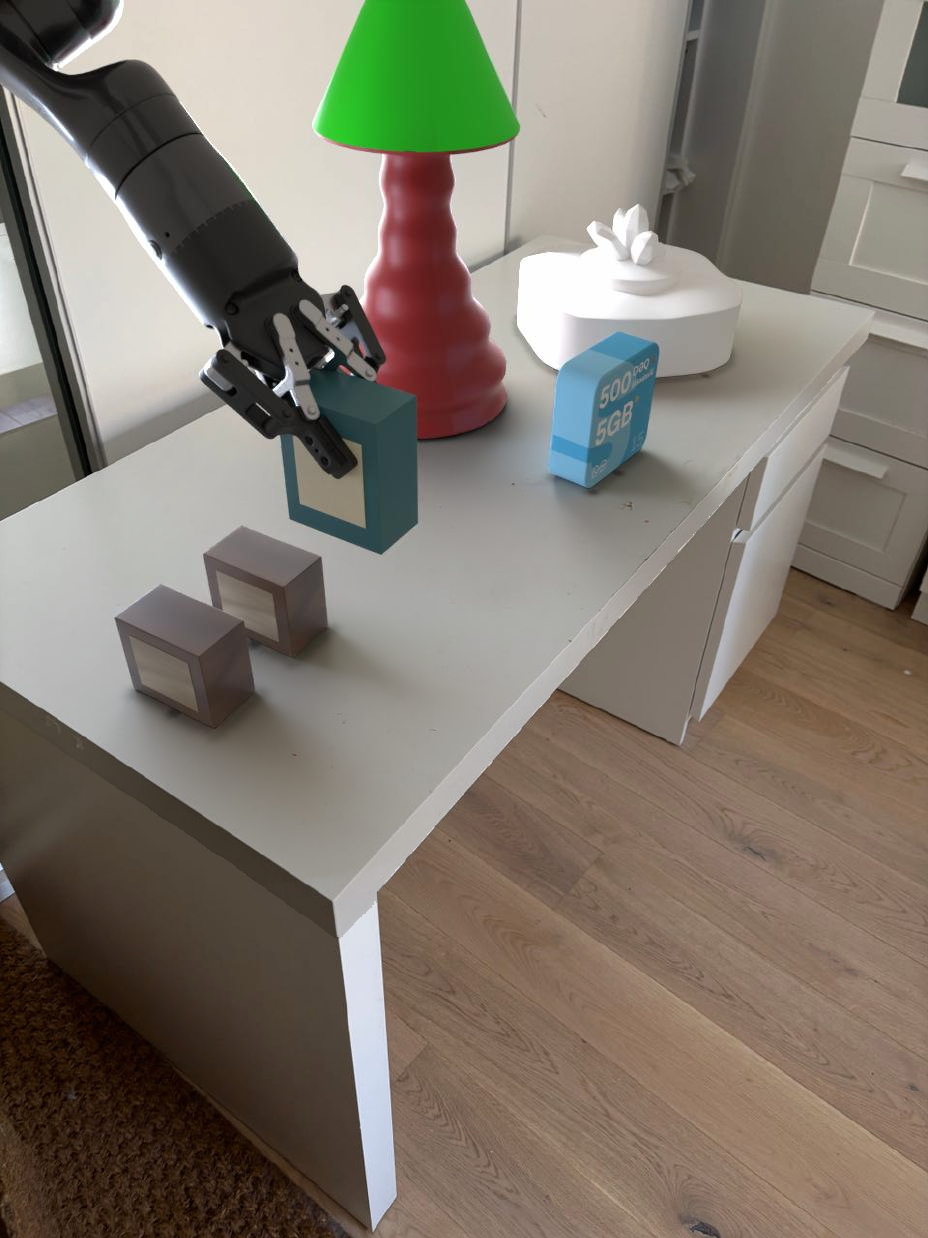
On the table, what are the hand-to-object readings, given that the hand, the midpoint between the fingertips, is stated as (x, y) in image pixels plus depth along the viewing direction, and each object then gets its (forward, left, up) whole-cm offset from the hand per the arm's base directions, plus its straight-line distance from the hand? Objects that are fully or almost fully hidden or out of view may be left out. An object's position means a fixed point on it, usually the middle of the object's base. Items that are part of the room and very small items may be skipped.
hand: (371, 453), depth 64 cm
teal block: (-2, +1, -6) cm, 6 cm away
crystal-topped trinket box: (+26, +63, -18) cm, 70 cm away
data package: (+20, +31, -18) cm, 41 cm away
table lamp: (+1, +44, -18) cm, 47 cm away
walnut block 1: (-14, -4, -18) cm, 23 cm away
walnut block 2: (-9, +4, -18) cm, 21 cm away
